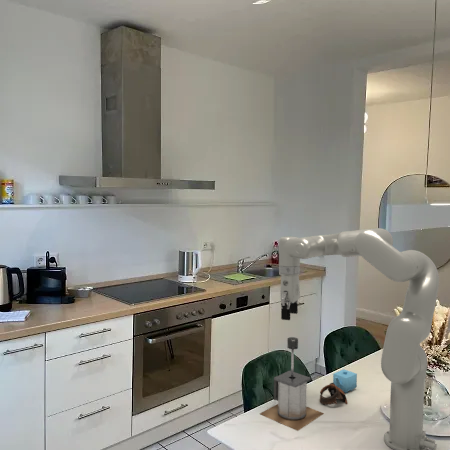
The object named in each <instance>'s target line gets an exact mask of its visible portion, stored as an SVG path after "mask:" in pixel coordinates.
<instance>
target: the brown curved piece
mask: <svg viewBox="0 0 450 450" xmlns="http://www.w3.org/2000/svg"><path fill="white" fill-rule="evenodd" d="M326 391H328V393H329V395H330V397H329V396H328V397H326V396H325V397H324V396H323V394H324V393H325V392H326ZM319 393H320V395H319V402H320V404H322V405H325V406H328V405H329V406H330V405H334V404H335V405H338V403H337V400H339V401H342V402H344V403H345V404H346V405H348V399H347V396H346V393H344V391H342V390H341V389H340V388H338V387H337V386H336V385H335V384H334V383H333V382H330V383H329V384H326V385H325V386H323V387H322V388H321V389H320V390H319Z"/></svg>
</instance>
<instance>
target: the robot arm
mask: <svg viewBox="0 0 450 450" xmlns="http://www.w3.org/2000/svg"><path fill="white" fill-rule="evenodd" d="M278 239H279V241H278V273H279V276H280V289H279V290H280V293H279V294H280V296H279V297H280V302H281V303H280V308H281V311H280V312H281V313H280V316H281V317H280V319H281V320H283V321H291V314H296V315H297V314H298V312H299V311H298V306H299V305H298V302H299V301H298V300H299V299H300V298H301V290H300V289H301V288H300V285H301V284H300V275H301V273H300V272H301V260H306V259H307V260H308V259H312V258H316V257H317V258H318V257H325V256H341V257H343V258H350V257H351V258H353V257H362V258H363V259H364V261H366V262H367V263H369V264H370V265H371V266H373V267H374V268H375V269H376V270H377V271H379V272H380V273H381V274H382V275H383V276H385V277H386V278H387V279H390V280H391V281H393V282H397V283H405V282H407V281H408V282H409V283H408V286H407V288H406V292H405V297H404V301H403V306H402V310H401V312H400V314H398V315H397V316H395V317H394V318H392V319H391V321H390V322H389V324H388V326H387V329H386V332H385V337H384V343H383V346H382V347H383V348H382V353H381V357H380V368H381V371H382V373H383V375H384V377H385V378H386V379H387V380H388V381H389V382H390V398H389V399H390V404H389V429H388V431H386V432H384V435H383V440H384V443H385V444H386V445H387V446H388V447H389V448H390V449H392V450H428V449H430V450H437V449H438V448H437V447H438V445H437V443H436V440H435V439H432V438H430V437H428V436H426V435H427V432H426V430H424V429H423V428H424V403H425V383H426V375H427V370H428V356H427V353H426V351H425V350H424V348H423V347H422V346H421V343H422V342H424V341H425V340H426V339H427V338H428V337H429V336H430V333H431V330H432V323H433V320H434V314H435V308H436V303H437V298H438V297H437V296H438V293H439V287H440V277H439V276H440V275H439V271H438V268H437V266H436V265H435V263H434V262H433V260H432V259H431V258H430V257H429V256H428V255H426V254H425V253H424V252H421V251H419V250H415V249H408V250H403V251H400V250H398V249H397V248H396V247H394V246H393V244H394V239H393V236H392V234H391V232H390V231H389V230H387V229H385V228H381V227H380V228H379V227H377V228H376V227H375V228H366V229H365V228H364V229H356V230H346V231H340V232H339V233H332V234H323V235H322V234H321V235H312V236H311V235H310V236H304V237H298V236H291V235H290V236H281V237H280V238H278Z"/></svg>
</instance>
